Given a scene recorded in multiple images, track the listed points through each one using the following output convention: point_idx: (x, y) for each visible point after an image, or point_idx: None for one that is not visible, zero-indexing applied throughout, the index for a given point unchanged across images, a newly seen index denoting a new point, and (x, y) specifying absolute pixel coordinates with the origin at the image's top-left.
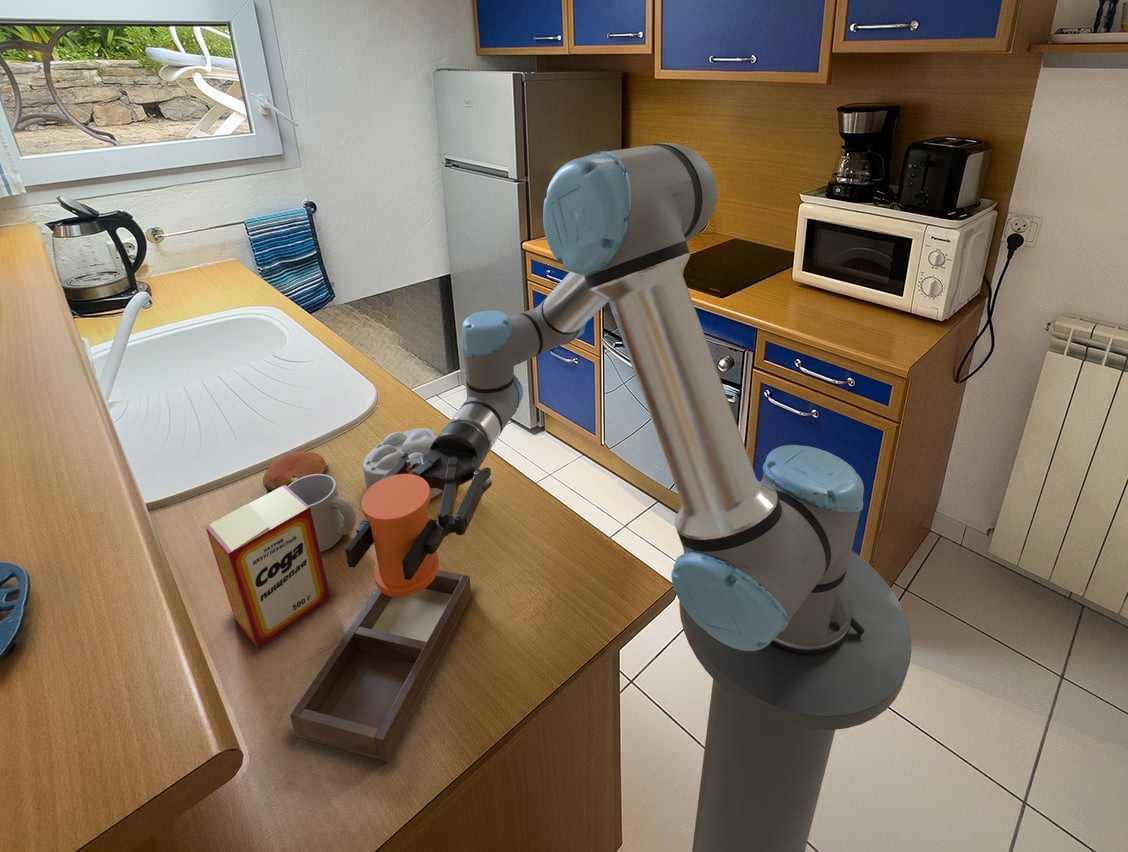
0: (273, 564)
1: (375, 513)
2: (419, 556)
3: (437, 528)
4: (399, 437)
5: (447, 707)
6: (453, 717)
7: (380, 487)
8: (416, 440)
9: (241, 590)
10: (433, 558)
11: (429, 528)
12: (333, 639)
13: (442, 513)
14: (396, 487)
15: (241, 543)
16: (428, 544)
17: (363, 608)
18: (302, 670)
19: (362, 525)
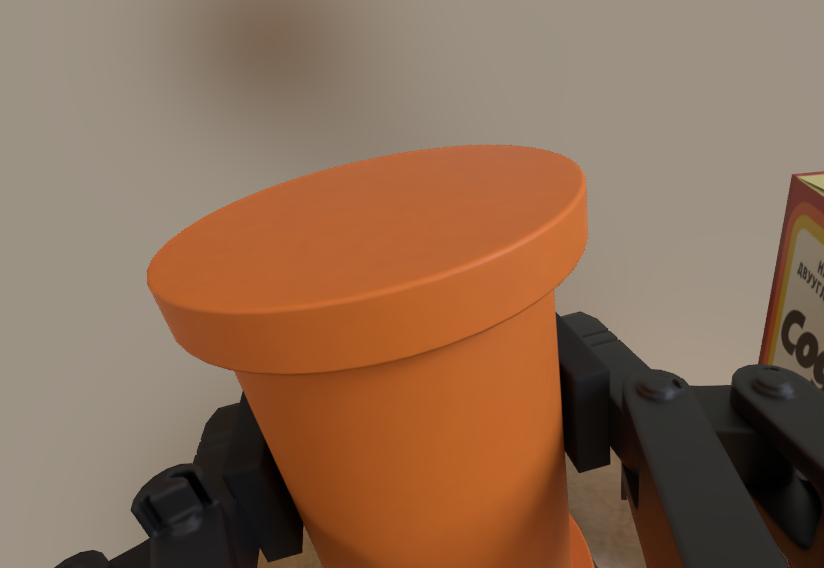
0: (812, 335)
1: (383, 160)
2: None
3: (217, 479)
4: None
5: (279, 562)
6: (260, 553)
7: (511, 178)
8: None
9: (771, 301)
10: None
11: (237, 421)
12: (636, 545)
13: (167, 489)
14: (410, 209)
15: (820, 183)
16: (233, 406)
17: (595, 565)
18: (608, 469)
19: (582, 329)
